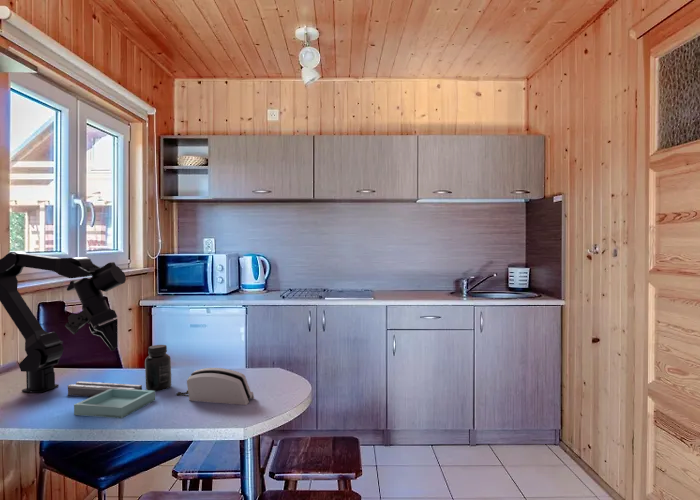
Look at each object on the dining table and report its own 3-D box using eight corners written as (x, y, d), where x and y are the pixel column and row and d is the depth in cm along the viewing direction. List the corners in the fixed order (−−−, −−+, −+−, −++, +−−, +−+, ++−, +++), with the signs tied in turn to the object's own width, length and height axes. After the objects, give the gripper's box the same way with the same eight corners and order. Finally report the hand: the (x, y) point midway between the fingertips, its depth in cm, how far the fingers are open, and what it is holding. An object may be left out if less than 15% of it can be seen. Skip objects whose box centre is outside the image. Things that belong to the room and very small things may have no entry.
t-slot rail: (67, 395, 127) (67, 385, 127) (79, 390, 131) (79, 381, 131) (132, 399, 123) (132, 389, 123) (141, 394, 127) (141, 385, 127)
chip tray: (74, 414, 112) (74, 404, 112) (112, 397, 125) (112, 388, 125) (121, 418, 109) (121, 407, 109) (155, 400, 122) (155, 390, 122)
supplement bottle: (171, 383, 137) (170, 342, 137) (171, 390, 130) (170, 347, 130) (146, 386, 134) (145, 344, 134) (144, 393, 128) (144, 349, 128)
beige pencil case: (255, 397, 123) (248, 366, 119) (248, 409, 118) (241, 377, 115) (198, 393, 126) (190, 362, 123) (189, 405, 122) (181, 374, 118)
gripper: (61, 314, 134) (83, 364, 133) (59, 305, 118) (83, 360, 118) (102, 299, 140) (123, 346, 140) (105, 288, 124) (128, 341, 124)
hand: (114, 349), depth 130 cm, fingers open, 9 cm apart
